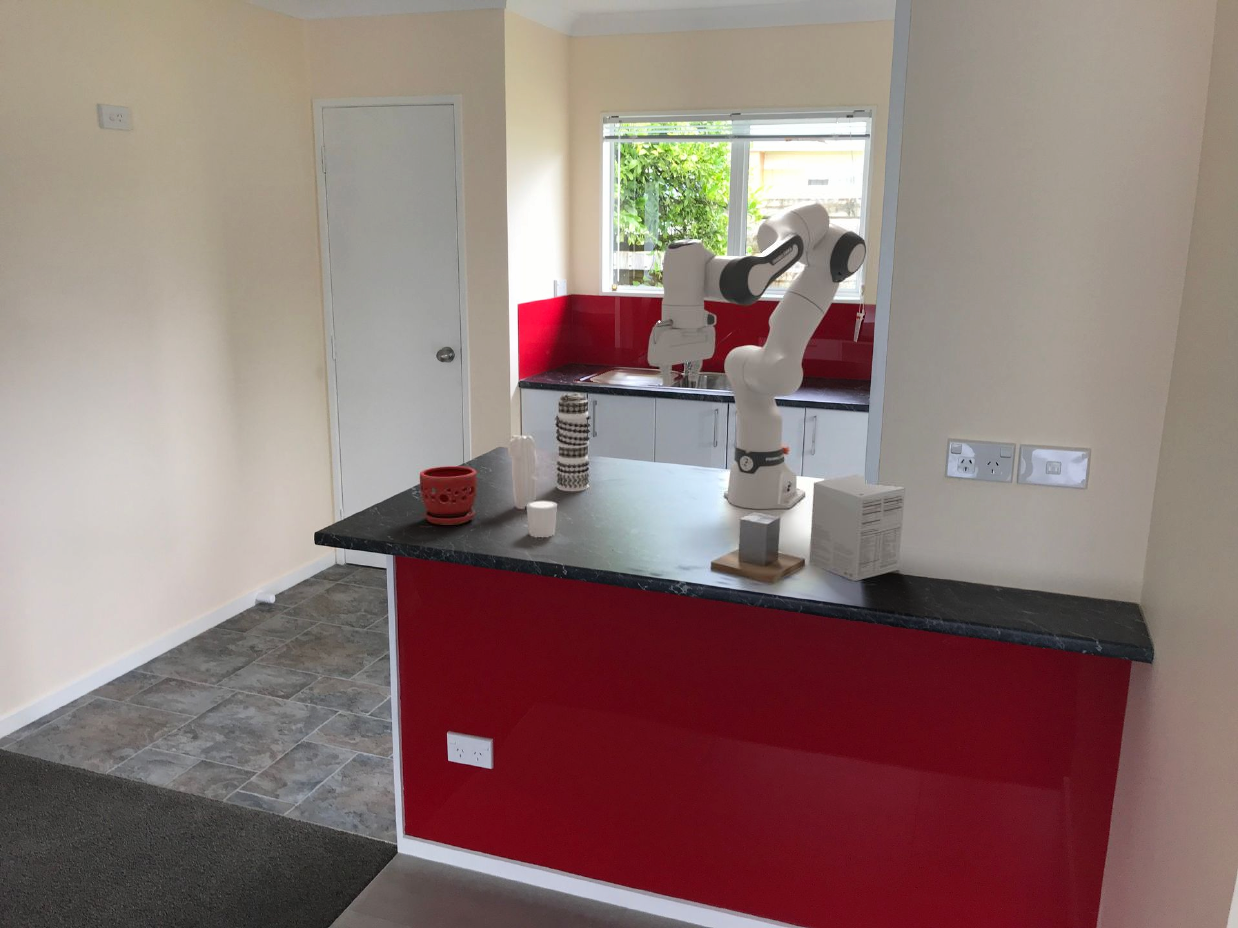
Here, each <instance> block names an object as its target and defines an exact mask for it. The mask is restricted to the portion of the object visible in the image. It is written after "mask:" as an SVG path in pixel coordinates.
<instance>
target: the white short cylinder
mask: <svg viewBox="0 0 1238 928" xmlns="http://www.w3.org/2000/svg"><path fill="white" fill-rule="evenodd" d="M526 506H527V507H526V513H527V521H528V531H529V536H531V537H533V536H534V537H533V538H537V537H542V538H543V537H546V538H550V537H549V536H551V537H553V536H555V534H554V533H555V532H556V521H557V513H558V512H557V511H558V504H557V502H554V501H551V500H535V501H533V502H530V503H528V504H527V505H526ZM552 535H553V536H552ZM542 538H541V539H542Z"/></svg>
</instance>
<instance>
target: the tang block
mask: <svg viewBox="0 0 1238 928" xmlns="http://www.w3.org/2000/svg"><path fill="white" fill-rule="evenodd" d="M738 558H739V548H737V549H735V550H733V551H730V552H729V553H726V554H723V555H722V556H719V557H718V558H716V559H714V560H711V561H710V569H711V570H715V571H718V572H722V573H725V574H730V575H733V576H736V577H737V576H738V577H742V578H746V579H749V580H753V581H756V582H760V583H765V584H769V585H772V584H774V583H777V582H778V581H780V580H782V579H783V578H785V577H787V576H789V575H790V574H793V573H794V572H796V571H798V570H800V569H801V568H803V567H805V565H806V558H805V557H804V558H803V557H800V556H795V555H791V554H787V553H783V552H778V559H777V560H776V561H774V562H773V563H771V564H769V565H768V566H766V567H762V566H758V565H753V564H749V563H744V562H740V561H738Z"/></svg>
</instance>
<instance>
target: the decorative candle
mask: <svg viewBox="0 0 1238 928" xmlns="http://www.w3.org/2000/svg"><path fill="white" fill-rule="evenodd" d="M557 401H558V411H557V415H556V416H555V418H554V420H555V421H556V423H555V427H556V428H557V429H556V432H555V433H556V437H555V438H556V441H557V442H556V445H557V446H558V455H557V462H556V464H557V466H558V467H557V468H556V470H557V474H556V477H557V479H556V483H557V489H558V490H560V491H565V492H582V491H585V489H586V490H588V489H589V488H588V487H590V485H589V483H590V480H589V478H590V474H589V472H588V471H589V470H590V468H589V465H590V462H589V457H588V456H589V455H588V447H589V444H590V442H589V440H590V436H588V434H589V433H590V432H591V431H590V429H589V427H591V424H590V423H588V421H589V420H590V419H591V418H592V417H591V416H590V415H589V411H588V402H589V399H588V398H587V397H586V396H585V394H583V393H580V392H579V393H577V392H567V393H564V394H562V395H561V397H560V398H558V399H557ZM587 488H588V489H587Z"/></svg>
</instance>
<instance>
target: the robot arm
mask: <svg viewBox="0 0 1238 928" xmlns="http://www.w3.org/2000/svg"><path fill="white" fill-rule="evenodd" d="M830 221H831V220H830V216H829V213H828V211H827V209H826V208H825V207H824V205H823V204H821V203H819V202H817V201H815V200H814V201H811V200H806V201H802V202H799V203H796V204H793V205H790V206H787V207H785V208H783V209H781V210H779V211H778V212H776V213H774V214H772V215H771V216H769V217H767V218H766V219H765V220H764V221H763V222H762V223H761V224H760V226H759V227H758V230H757V235H756V242H757V247H758V250H759V252H760V253H759V254H758V255H742V256H741V255H740V256H735V255H718V254H716V253H714V252H712V251H710V250H709V249H708V248H706V246H705V245H704V244H703V243H704V242H703V241H702V240H701V239H698V238H685V239H678V240H674V241H672V242H670V243H669V244H668V245H667V246H666V249H665V251H664V257H663V262H662V263H663V264H662V278H661V279H662V287H663V298H662V301H661V320H658V321H656V324H654V326H653V327H652V330H651V333H650V336H649V340H648V350H647V363H648V364H649V365H650V367H651V366H652V367H658V368H659V372H660V374H661V377H662V386H664V387H667V388H669V387H673V386H674V385H675V383H674V382H675V378H674V377H672V374H671V373H672V372H671V371H672V367H673V366H675V365H681V364H686V363H690V365H691V367H690V372H687V373H688V374H687V375H688V378H687V379H688V381H689V382H697V381H699V380H700V377H699V376H700V374H699V373H700V372H701V370H702V366H703V360H707V359H711V358H712V357H713V355H714V353H715V349H716V329H715V325H716V324H717V315H716V314H714V313H712V312H709V311H707V310H706V309H705V302H704V301H709V302H710V301H711V302H720V303H730V304H735V305H740V306H744V307H747V306H751V305H753V304H755V303H757V302H758V301H759V300H760V298H762V296H763V295H764V294H765V292H766V290H768V288H769V287H770V285H772V283H774V281H776V280H777V279H779V277H781V276H782V275H783V274H785V273H786V272H787V271H788V270H790V269H791V268H792V267H793V266H794V265H796V263H800V264H802V265H804V269H803V270H802V271H801V272H800V273H799V274H798V276H797V277H796V278H795V279H794V280H793V282H792V283H791V284H790V286H789V287H788V288H787V290H786V292H784V295H783V296H782V298H781V299H780V301H779V303H778V304H777V306H776V307H775V309H774V310H773V312H772V313H771V315H770V316H769V319H768V325H769V333H768V335H767V339H766V341H765V344H764V345H763V346H757V345H752V344H751V345H750V344H748V345H743V346H738V347H735V348H732V350H730V351H729V353H728V354H727V356H726V358H725V360H724V367H723V368H724V373H725V375H726V377H727V379H728V381H729V382H730V385H731V389H732V392H733V398H734V401H735V408H736V416H737V417H736V418H737V422H736V423H737V425H736V426H737V427H736V445H735V447H734V451H733V456H734V458H733V459H734V463H733V464H731V466H730V470H729V478H728V487H727V490H726V491H725V490H724V493H723V496H724V497H725V498H726V499H727V502H729V503H730V504H731V505H734V506H738V507H741V508H745V509H746V508H747V509H755V510H768V509H769V510H771V509H790V508H792V507H793V506H795V504H797V503H798V502H799V501H800V500H802V499H803V498H804V497H805V496H806V491H805V490H802V489H801V488H797V474H796V472H795V471H794V470H793V469H792V468H791V467H790V465H789V466H788V464H787V463H786V462H785V455H786V456H787V455H789V453H790V447H789V446H783V445H782V442H783V441H782V440H783V439H782V436H783V416H782V413H781V412H780V409H779V408H778V405H777V403H776V399H775V398H780V397H788V396H791V395H793V394H795V393H796V392H797V391H798V390H799V388H800V387H801V385H802V382H803V379H804V378H803V377H804V369H803V367H802V362H803V357H804V353H805V350H806V348H807V346H808V343H809V341H810V340H811V338H812V337H813V335H814V333H815V331H816V329H817V328H818V326H819V325H820V324H821V321H822V320H823V318H824V316H826V314H827V312H828V310H829V308H830V307H831V305H832V303H833V300H834V298H835V296H836V294H837V292H838V289H839V287H840V283H841V282H844V281H845V280H846V279H848V278H850V277H851V276H853V275H855V273H857V271H859V269H860V268H861V267H862V265H863V263H864V261H865V259H866V255H867V246H866V241H865V240H864V238H863V237H862V236H860V234H858V233H857V232H854V231H852V230H847V229H846V228H844V227H841V226H840V225H836V224H834V223H831V222H830Z"/></svg>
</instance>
